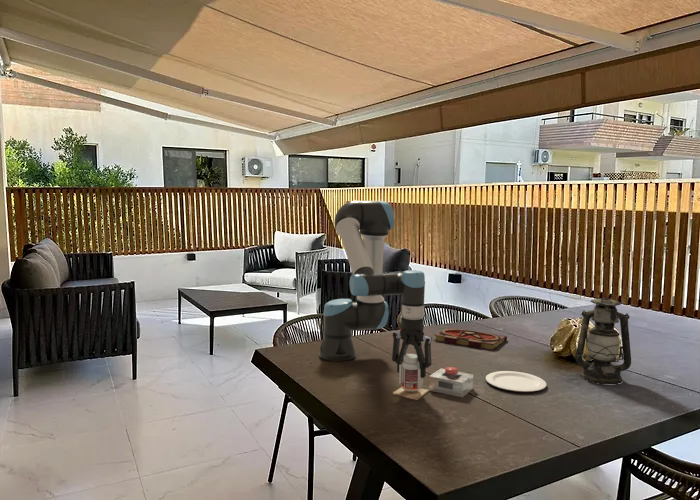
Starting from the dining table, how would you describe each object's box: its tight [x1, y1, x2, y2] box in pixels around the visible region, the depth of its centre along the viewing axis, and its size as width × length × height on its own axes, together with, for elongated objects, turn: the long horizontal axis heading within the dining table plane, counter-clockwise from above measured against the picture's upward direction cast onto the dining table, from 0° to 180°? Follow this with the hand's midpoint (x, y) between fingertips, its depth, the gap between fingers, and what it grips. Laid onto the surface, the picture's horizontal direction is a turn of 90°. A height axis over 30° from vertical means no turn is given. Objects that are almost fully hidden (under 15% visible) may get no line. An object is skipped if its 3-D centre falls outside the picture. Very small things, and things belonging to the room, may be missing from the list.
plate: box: [485, 370, 548, 393], centre depth 186 cm, size 21×21×2 cm
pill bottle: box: [401, 353, 421, 391], centre depth 175 cm, size 6×6×11 cm
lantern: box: [574, 298, 632, 385], centre depth 189 cm, size 19×19×30 cm
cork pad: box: [392, 386, 430, 401], centre depth 176 cm, size 9×9×1 cm
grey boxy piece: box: [428, 367, 474, 398], centre depth 180 cm, size 12×10×5 cm
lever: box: [444, 366, 459, 378], centre depth 180 cm, size 4×4×6 cm
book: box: [432, 327, 508, 351], centre depth 243 cm, size 28×21×5 cm
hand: (410, 384), depth 176 cm, fingers closed on pill bottle, 6 cm apart
